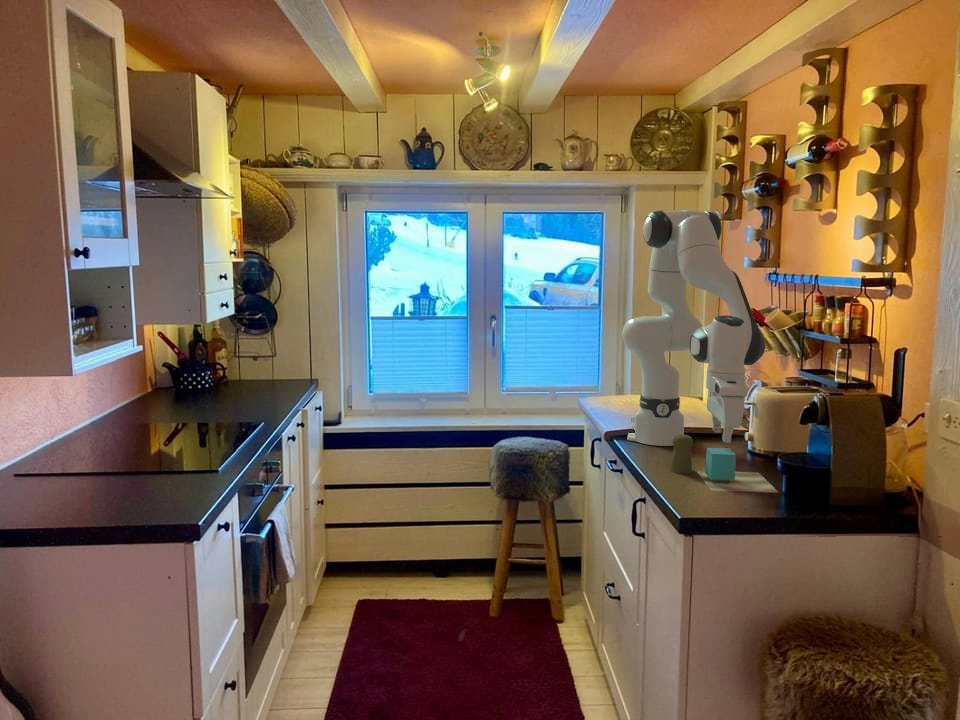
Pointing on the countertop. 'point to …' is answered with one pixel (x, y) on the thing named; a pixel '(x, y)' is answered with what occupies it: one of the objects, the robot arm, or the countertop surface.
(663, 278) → the robot arm
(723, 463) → the teal rounded cube
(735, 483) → the stand
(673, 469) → the cork
